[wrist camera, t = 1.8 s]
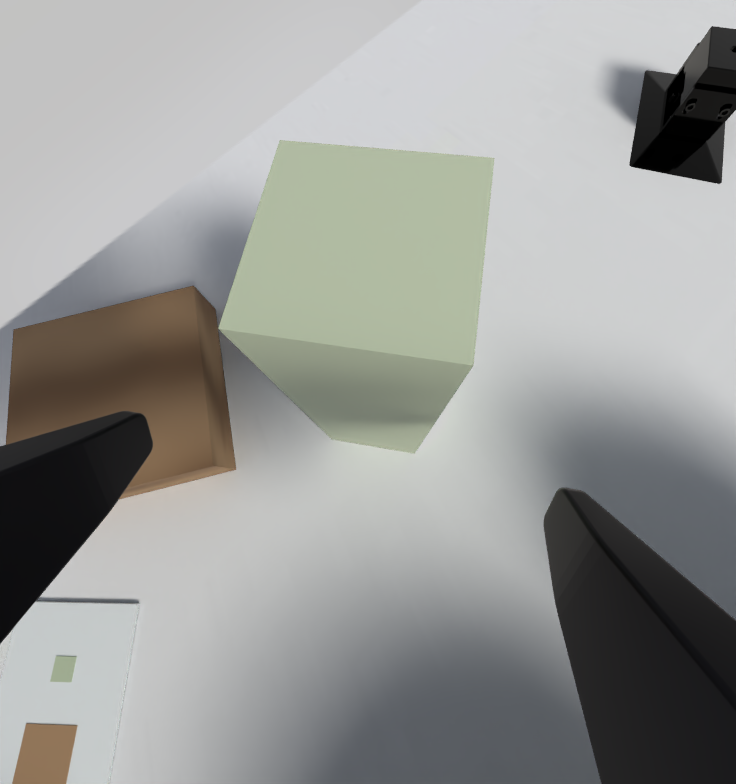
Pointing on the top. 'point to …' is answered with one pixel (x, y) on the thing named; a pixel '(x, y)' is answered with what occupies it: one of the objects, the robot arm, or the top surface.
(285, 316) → the pillar
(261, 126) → the top surface
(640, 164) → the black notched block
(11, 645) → the blueprint card
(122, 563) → the top surface
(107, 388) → the foundation slab
